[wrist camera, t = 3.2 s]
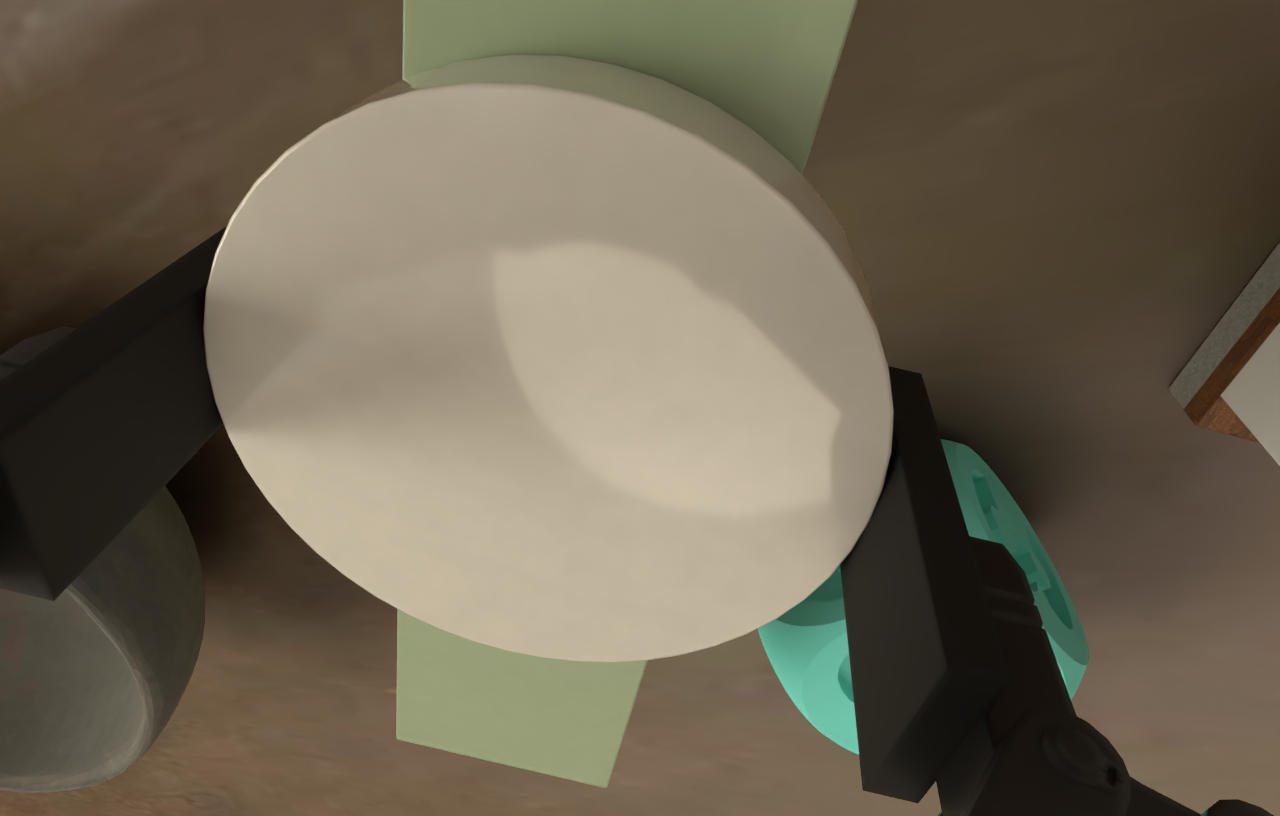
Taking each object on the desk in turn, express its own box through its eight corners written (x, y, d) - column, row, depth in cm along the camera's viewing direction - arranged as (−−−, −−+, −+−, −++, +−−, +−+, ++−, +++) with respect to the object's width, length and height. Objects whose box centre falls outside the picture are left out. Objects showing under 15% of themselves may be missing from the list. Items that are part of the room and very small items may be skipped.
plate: (225, -29, 11) (140, -12, 9) (999, 153, 11) (1034, 199, 9) (286, 528, 17) (242, 590, 16) (773, 642, 17) (773, 714, 16)
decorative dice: (863, 613, 34) (886, 795, 27) (747, 498, 31) (742, 669, 24) (1046, 535, 30) (1123, 724, 23) (933, 395, 27) (985, 565, 21)
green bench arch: (486, -581, 16) (24, -1299, 6) (1072, -442, 16) (1570, -931, 6) (436, 467, 32) (292, 734, 22) (723, 535, 32) (704, 831, 22)
